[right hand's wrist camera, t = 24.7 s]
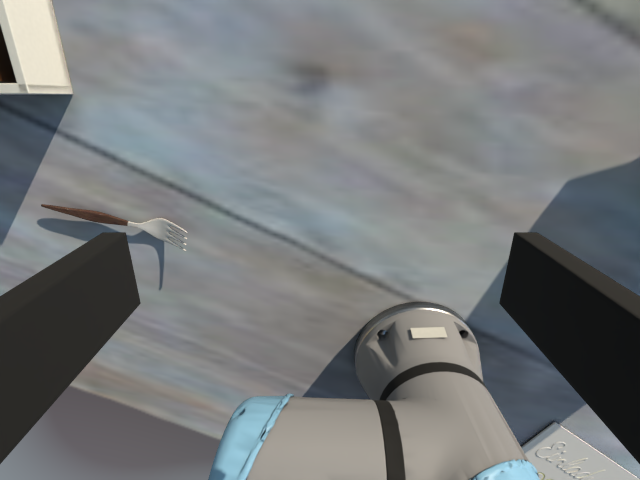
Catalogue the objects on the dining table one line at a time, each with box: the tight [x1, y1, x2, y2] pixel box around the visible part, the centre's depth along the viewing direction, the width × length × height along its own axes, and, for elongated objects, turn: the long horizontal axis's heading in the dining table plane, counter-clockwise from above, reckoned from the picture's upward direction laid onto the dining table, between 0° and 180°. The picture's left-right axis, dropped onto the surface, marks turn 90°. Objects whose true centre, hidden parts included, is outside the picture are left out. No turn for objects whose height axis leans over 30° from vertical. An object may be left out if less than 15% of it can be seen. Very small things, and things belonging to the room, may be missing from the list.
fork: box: [41, 204, 188, 251], centre depth 39 cm, size 3×16×2 cm, turn 76°
